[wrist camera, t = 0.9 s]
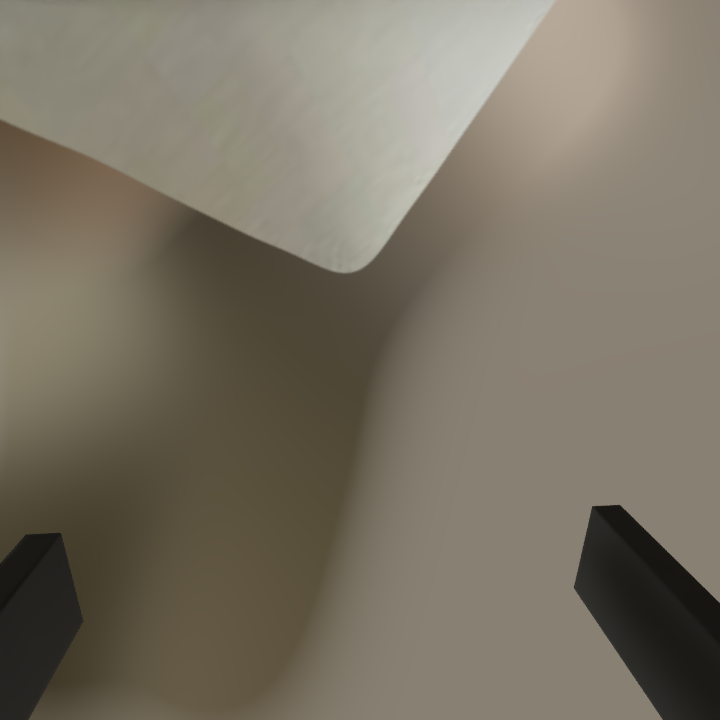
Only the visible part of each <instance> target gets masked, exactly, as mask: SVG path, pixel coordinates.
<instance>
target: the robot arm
mask: <svg viewBox="0 0 720 720" xmlns="http://www.w3.org/2000/svg"><path fill="white" fill-rule="evenodd" d="M574 589H575V590H576V592H577V593H578V595H579V596H580V598H581V599H582V601H583V602H584V603H585V605H586V607H587V608H588V610H589V611H590V613H591V614H592V616H593V617H594V618H595V620H596V621H597V623H598V624H599V626H600V627H601V629H602V630H603V632H604V633H605V635H606V636H607V638H608V639H609V641H610V642H611V643H612V645H613V646H614V648H615V649H616V651H617V652H618V654H619V655H620V657H621V658H622V660H623V661H624V663H625V664H626V666H627V667H628V669H629V670H630V672H631V673H632V675H633V676H634V678H635V679H636V681H637V682H638V684H639V685H640V686H641V688H642V689H643V691H644V692H645V694H646V695H647V697H648V698H649V700H650V701H651V703H652V704H653V706H654V707H655V708H656V710H657V712H658V713H659V715H660V716H661V717H662V719H663V720H720V603H719V602H718V601H717V600H716V599H715V598H714V597H713V596H712V595H711V594H710V593H709V592H708V591H707V590H706V589H705V588H704V587H703V586H702V585H701V584H700V583H699V582H698V581H697V580H696V579H695V578H694V577H693V576H692V575H691V574H690V573H689V572H688V571H687V570H686V569H684V568H683V567H682V566H681V565H680V564H679V563H678V562H677V561H676V560H675V559H674V558H673V557H672V556H671V555H670V554H669V553H668V552H667V551H666V550H665V549H664V548H663V547H662V546H661V545H660V544H659V543H658V542H657V541H656V540H655V539H654V538H653V537H652V536H651V535H650V534H649V533H648V532H647V531H646V530H644V528H643V527H642V526H641V525H640V524H639V523H638V522H637V521H635V519H634V518H633V517H632V516H631V515H630V514H628V512H627V511H626V510H624V509H623V508H622V507H621V506H620V505H610V506H593V507H592V510H591V515H590V519H589V524H588V528H587V532H586V537H585V541H584V546H583V550H582V554H581V559H580V563H579V568H578V572H577V576H576V581H575V585H574ZM82 623H83V618H82V614H81V610H80V607H79V602H78V599H77V595H76V591H75V587H74V583H73V579H72V575H71V571H70V568H69V563H68V559H67V555H66V551H65V548H64V543H63V539H62V535H61V533H49V534H31V535H25V536H24V537H23V538H22V540H21V541H20V542H19V543H18V544H17V545H16V546H15V548H14V549H13V550H12V551H11V552H10V553H9V554H8V555H7V557H6V558H5V559H4V560H3V561H2V562H1V563H0V720H28V719H29V718H30V716H31V714H32V712H33V710H34V709H35V706H36V705H37V703H38V701H39V700H40V698H41V696H42V694H43V692H44V691H45V689H46V687H47V685H48V683H49V682H50V680H51V678H52V676H53V675H54V673H55V671H56V669H57V667H58V666H59V664H60V662H61V660H62V659H63V657H64V655H65V653H66V651H67V650H68V648H69V646H70V644H71V642H72V641H73V639H74V637H75V635H76V634H77V632H78V630H79V628H80V626H81V624H82Z"/></svg>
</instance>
